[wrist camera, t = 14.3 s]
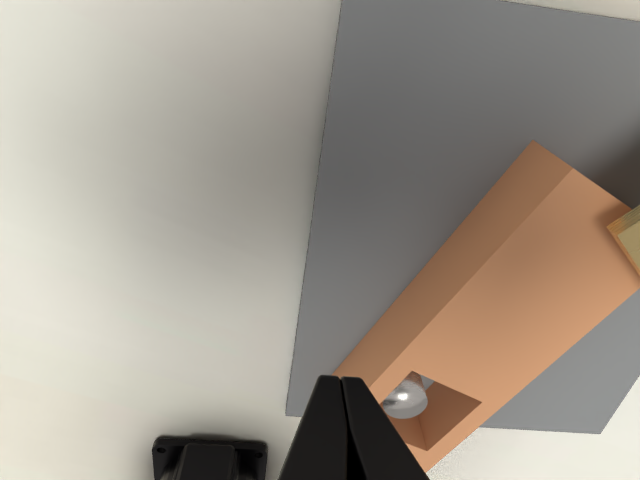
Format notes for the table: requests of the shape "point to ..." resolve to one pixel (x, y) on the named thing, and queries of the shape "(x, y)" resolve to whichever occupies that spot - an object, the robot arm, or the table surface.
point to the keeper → (628, 235)
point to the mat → (464, 172)
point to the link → (498, 301)
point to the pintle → (406, 398)
